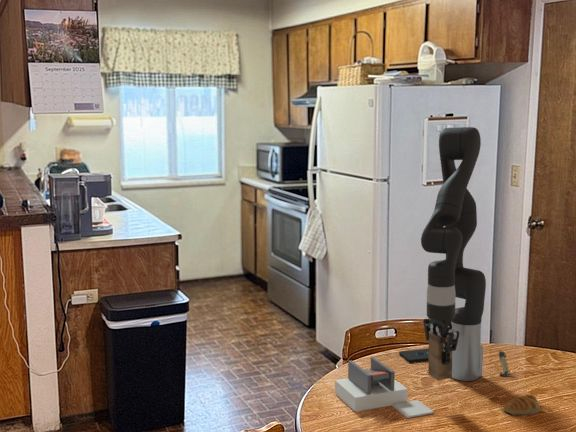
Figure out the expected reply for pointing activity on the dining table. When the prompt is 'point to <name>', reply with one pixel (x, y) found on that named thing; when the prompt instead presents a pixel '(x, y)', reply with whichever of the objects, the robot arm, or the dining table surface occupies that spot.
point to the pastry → (522, 405)
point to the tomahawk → (504, 365)
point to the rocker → (377, 375)
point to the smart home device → (415, 355)
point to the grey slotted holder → (369, 388)
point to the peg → (438, 359)
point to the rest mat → (412, 409)
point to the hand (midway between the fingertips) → (440, 360)
